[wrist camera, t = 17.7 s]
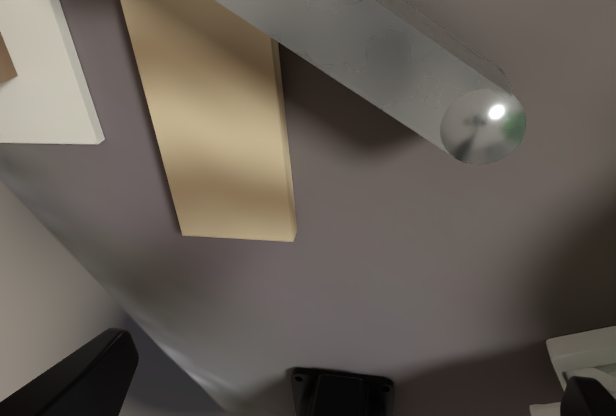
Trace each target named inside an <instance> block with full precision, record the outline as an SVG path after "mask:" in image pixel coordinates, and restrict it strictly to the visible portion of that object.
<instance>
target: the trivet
mask: <svg viewBox="0 0 616 416" xmlns="http://www.w3.org/2000/svg"><path fill="white" fill-rule="evenodd" d="M0 32H1V34H2V37H3V39H4V42H5V44H6V47H7V49H8V52H9V54H10V57H11V59H12V62H13V64H14V67H15V69H16V72H17V74H18V76H16V77H14V78H11V79H9V80H7V81H5V82H2V83H0V143H47V144H99V143H101V142H102V141H103V140H105V138H104V135H103V132H102V129H101V126H100V123H99V120H98V117H97V114H96V111H95V108H94V105H93V102H92V99H91V95H90V92H89V89H88V86H87V83H86V80H85V77H84V74H83V71H82V68H81V65H80V62H79V59H78V56H77V53H76V50H75V47H74V44H73V41H72V38H71V35H70V32H69V29H68V26H67V22H66V19H65V16H64V13H63V10H62V7H61V4H60V1H59V0H0Z"/></svg>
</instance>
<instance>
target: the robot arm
mask: <svg viewBox="0 0 616 416" xmlns="http://www.w3.org/2000/svg"><path fill="white" fill-rule="evenodd" d="M138 359H139V356H138V351H137V349H136V346H135V344H134V341H133V339H132V336H131V334H130V332H129V331H128V330H127V329H119V328H109V329H108V330H106V331H104V332H103V333H101V334H100V335H98V336H97V337H95V338H94V339H92V340H91V341H89V342H88V343H87V344H85V345H83V346H82V347H81V348H79V349H78V350H76V351H75V352H73V353H72V354H70V355H69V356H67V357H66V358H64V359H63V360H62V361H60V362H59V363H57V364H56V365H54V366H53V367H51V368H50V369H49V370H47V371H45V372H44V373H42V374H41V375H40V376H38V377H37V378H35V379H34V380H32V381H31V382H29V383H28V384H26V385H25V386H24V387H22V388H21V389H19V390H18V391H16V392H15V393H13V394H12V395H10V396H9V397H7V398H6V399H4V400H3V401H1V402H0V416H118V415H119V412H120V410H121V407H122V405H123V402H124V399H125V397H126V394H127V391H128V389H129V386H130V383H131V381H132V378H133V375H134V373H135V370H136V367H137V364H138ZM291 380H292V388H293V395H294V402H295V409H296V416H393V403H394V382H393V381H392V380H390V379H386V378H377V377H368V376H359V375H351V374H342V373H333V372H324V371H315V370H306V369H295V370H293V372H292V376H291ZM560 416H616V399H615V398H614V397H613V396H612V395H611V394H610V393H609V391H608V390H607V389H606V388H605V387H604V386H603V385H602V384H601V383H600V382H599V381H598V380H596V379H595V378H591V377H582V376H572V377H570V378H569V380H568V383H567V386H566V389H565V392H564V394H563V397H562V400H561V404H560Z"/></svg>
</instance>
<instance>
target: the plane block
mask: <svg viewBox="0 0 616 416" xmlns="http://www.w3.org/2000/svg"><path fill="white" fill-rule="evenodd" d="M120 1H121V5H122V9H123V12H124V16H125V20H126V24H127V27H128V31H129V35H130V39H131V43H132V46H133V50H134V54H135V58H136V61H137V65H138V69H139V73H140V77H141V80H142V84H143V88H144V92H145V96H146V99H147V103H148V107H149V111H150V114H151V118H152V122H153V126H154V130H155V133H156V137H157V141H158V145H159V148H160V152H161V156H162V160H163V164H164V167H165V171H166V175H167V179H168V182H169V186H170V190H171V194H172V198H173V201H174V205H175V209H176V213H177V217H178V220H179V224H180V228H181V232H182V235H185V236H202V237H220V238H237V239H255V240H272V241H289V242H293V241H294V238H295V235H296V232H297V222H296V213H295V203H294V193H293V184H292V174H291V164H290V155H289V145H288V135H287V126H286V116H285V106H284V96H283V87H282V77H281V67H280V58H279V48H278V41H276V40H274V39H273V38H271V37H270V36H268V35H267V34H265V33H264V32H262V31H261V30H259V29H258V28H256V27H255V26H253V25H252V24H250V23H249V22H247V21H246V20H244V19H242V18H241V17H239V16H238V15H236V14H235V13H233V12H232V11H230V10H229V9H227V8H226V7H224V6H223V5H221V4H220V3H218V2H217V1H215V0H120Z"/></svg>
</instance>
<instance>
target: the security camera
mask: <svg viewBox="0 0 616 416" xmlns="http://www.w3.org/2000/svg"><path fill="white" fill-rule="evenodd" d="M546 345H547V349H548V352H549V355H550V359H551V362H552V364H553V367H554V369H555V371H556V374H557V376H558V378H559V381H560V383H561V386H562V388H563V390H564V392H565V389H566V386H567V383H568V380H569V378H570V377H572V376H582V377H591V378H595V379H596V380H598V381H599V382H600V383H601V384H602V385H603V386H604V387H605V388H606V389H607V390H608V391H609V393H610V394H611V395H612V396H613V397H614V398H615V399H616V326H611V327H606V328H601V329H596V330H591V331H586V332H581V333H576V334H571V335H565V336H560V337H555V338H550V339H548V340H547V341H546ZM560 404H561V402H557V403H550V404H533V405H530V406H529V408H530V414H531V416H560Z"/></svg>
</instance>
